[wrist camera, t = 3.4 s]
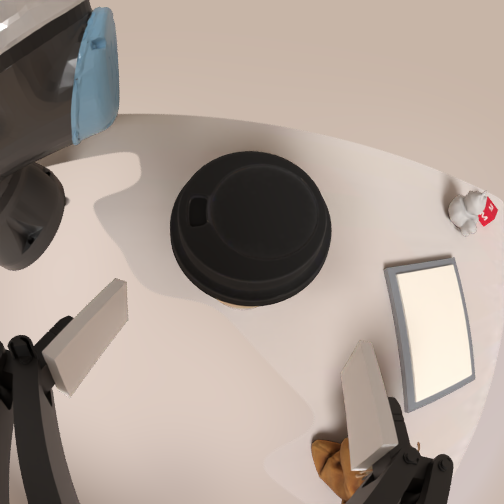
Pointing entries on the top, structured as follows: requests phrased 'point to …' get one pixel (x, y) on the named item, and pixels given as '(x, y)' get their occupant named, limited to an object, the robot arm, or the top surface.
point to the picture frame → (430, 330)
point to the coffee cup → (250, 229)
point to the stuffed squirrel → (338, 467)
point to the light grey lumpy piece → (467, 211)
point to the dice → (488, 213)
